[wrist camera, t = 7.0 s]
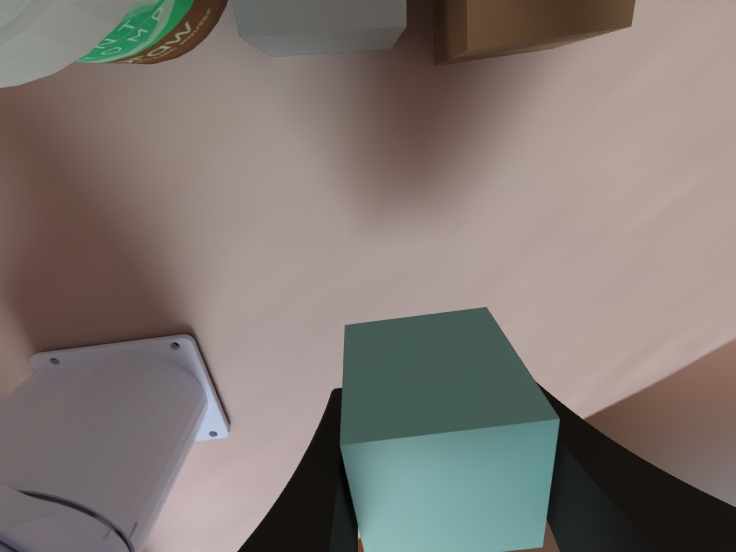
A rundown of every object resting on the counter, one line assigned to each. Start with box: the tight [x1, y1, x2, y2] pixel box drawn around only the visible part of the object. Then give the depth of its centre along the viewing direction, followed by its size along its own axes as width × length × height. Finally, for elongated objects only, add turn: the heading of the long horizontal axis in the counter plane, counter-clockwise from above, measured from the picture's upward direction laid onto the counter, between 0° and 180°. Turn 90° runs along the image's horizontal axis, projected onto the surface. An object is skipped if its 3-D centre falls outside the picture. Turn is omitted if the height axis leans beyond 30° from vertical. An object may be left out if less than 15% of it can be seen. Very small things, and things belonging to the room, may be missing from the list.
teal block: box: [340, 307, 560, 552], centre depth 12 cm, size 5×5×5 cm
